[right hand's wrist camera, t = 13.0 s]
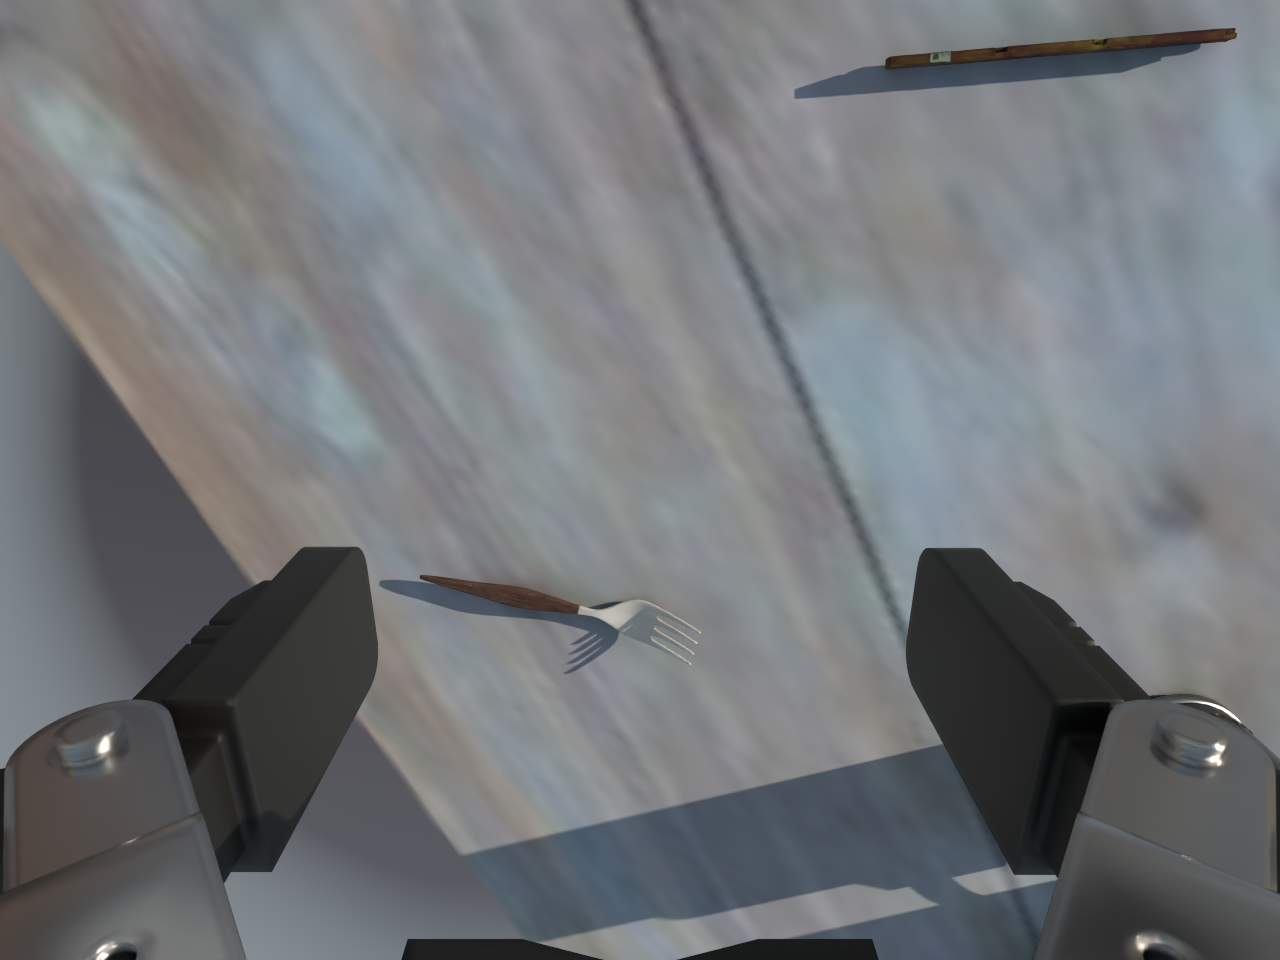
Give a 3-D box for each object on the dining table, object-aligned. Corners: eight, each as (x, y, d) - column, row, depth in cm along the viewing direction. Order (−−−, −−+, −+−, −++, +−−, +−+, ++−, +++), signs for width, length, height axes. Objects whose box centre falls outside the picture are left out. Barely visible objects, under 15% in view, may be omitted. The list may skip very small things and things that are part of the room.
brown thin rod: (1226, 30, 34) (1243, 26, 33) (1224, 42, 34) (1240, 38, 33) (884, 59, 34) (890, 55, 34) (883, 70, 35) (890, 67, 34)
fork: (425, 551, 43) (416, 568, 41) (699, 611, 45) (702, 629, 43) (419, 591, 44) (409, 609, 42) (687, 648, 46) (689, 668, 44)
